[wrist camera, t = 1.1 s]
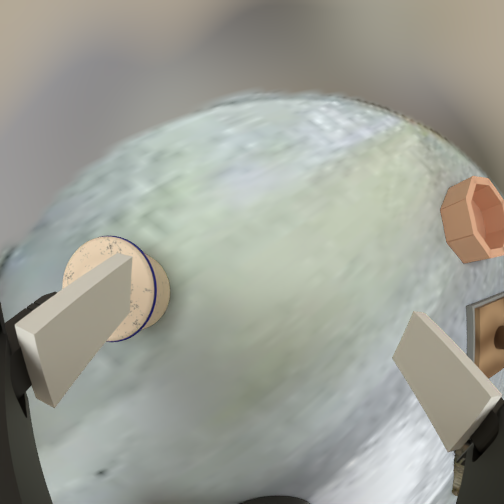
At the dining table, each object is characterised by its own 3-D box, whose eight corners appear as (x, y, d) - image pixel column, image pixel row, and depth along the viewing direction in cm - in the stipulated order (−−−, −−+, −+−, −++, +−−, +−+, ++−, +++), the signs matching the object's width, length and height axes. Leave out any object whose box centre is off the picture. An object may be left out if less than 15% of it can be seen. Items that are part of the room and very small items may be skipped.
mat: (505, 360, 35) (510, 361, 33) (464, 386, 33) (470, 388, 31) (505, 290, 37) (511, 290, 35) (466, 306, 35) (472, 306, 33)
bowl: (490, 257, 37) (514, 252, 31) (450, 266, 35) (477, 261, 29) (476, 190, 39) (498, 180, 33) (434, 187, 37) (458, 174, 31)
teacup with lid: (155, 238, 31) (124, 208, 20) (185, 314, 30) (166, 324, 19) (70, 277, 29) (12, 267, 18) (96, 349, 28) (44, 370, 17)
